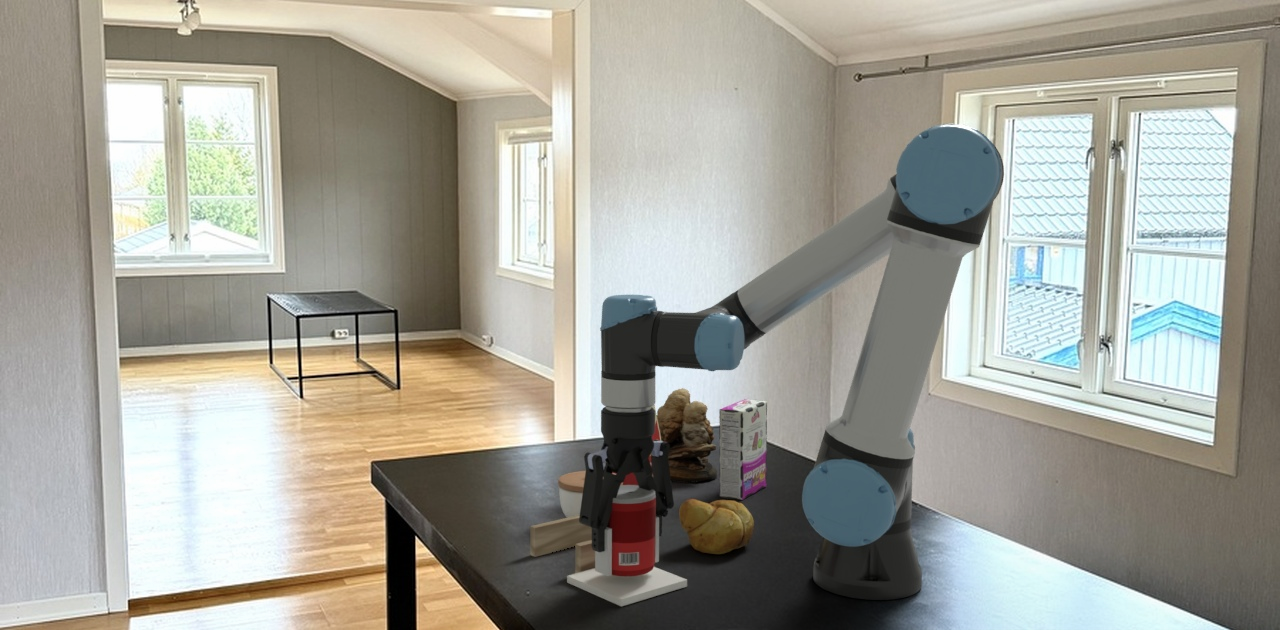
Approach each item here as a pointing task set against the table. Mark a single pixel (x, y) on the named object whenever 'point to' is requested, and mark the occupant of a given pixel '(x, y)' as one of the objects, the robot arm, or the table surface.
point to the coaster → (627, 585)
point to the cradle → (564, 540)
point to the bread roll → (716, 525)
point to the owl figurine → (687, 437)
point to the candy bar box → (743, 448)
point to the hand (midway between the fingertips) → (627, 566)
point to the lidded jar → (572, 492)
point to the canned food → (633, 531)
